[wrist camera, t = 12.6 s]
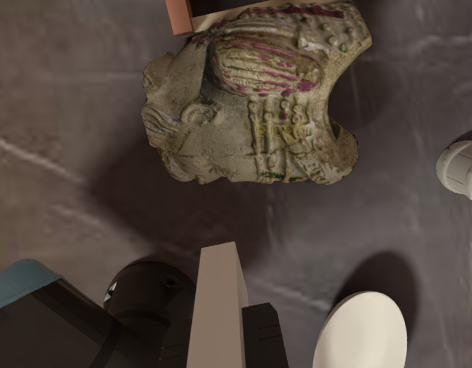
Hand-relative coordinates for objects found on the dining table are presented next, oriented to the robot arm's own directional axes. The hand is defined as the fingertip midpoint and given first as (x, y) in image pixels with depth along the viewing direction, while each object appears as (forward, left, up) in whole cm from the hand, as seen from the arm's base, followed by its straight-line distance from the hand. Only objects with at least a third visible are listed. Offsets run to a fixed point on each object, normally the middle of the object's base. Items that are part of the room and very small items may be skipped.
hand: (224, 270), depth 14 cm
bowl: (+13, -41, -32) cm, 54 cm away
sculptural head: (+4, +3, -32) cm, 32 cm away
